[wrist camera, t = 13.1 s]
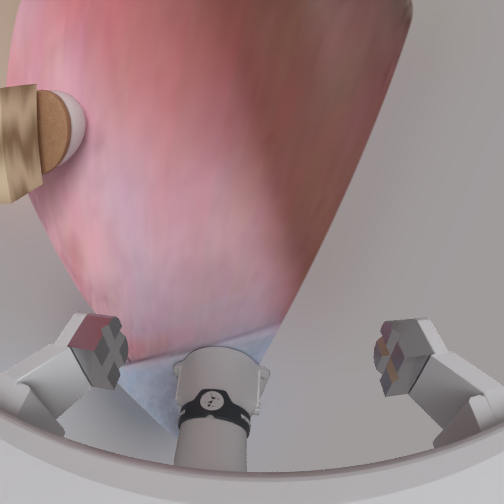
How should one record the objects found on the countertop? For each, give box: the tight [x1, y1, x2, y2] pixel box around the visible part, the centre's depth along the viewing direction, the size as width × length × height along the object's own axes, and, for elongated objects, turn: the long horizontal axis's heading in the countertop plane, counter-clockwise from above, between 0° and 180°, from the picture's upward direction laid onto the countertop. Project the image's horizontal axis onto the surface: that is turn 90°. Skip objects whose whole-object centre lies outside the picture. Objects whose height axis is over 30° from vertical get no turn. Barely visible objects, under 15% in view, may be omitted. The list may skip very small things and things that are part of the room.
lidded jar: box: [36, 90, 86, 175], centre depth 29 cm, size 11×11×9 cm
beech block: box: [0, 84, 43, 204], centre depth 22 cm, size 12×4×6 cm, turn 176°
